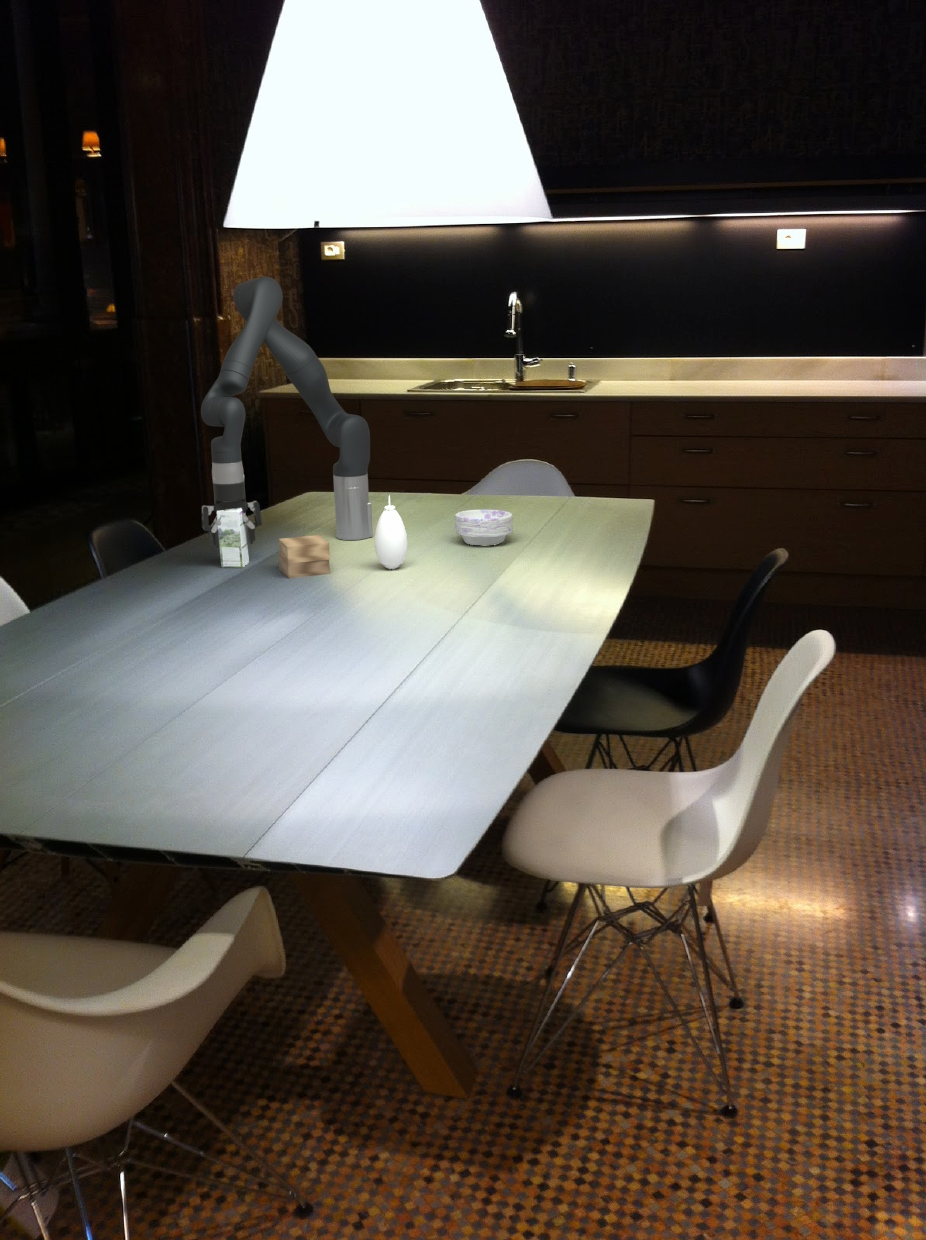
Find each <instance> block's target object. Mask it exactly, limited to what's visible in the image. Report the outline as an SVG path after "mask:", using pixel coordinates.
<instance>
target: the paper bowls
mask: <svg viewBox="0 0 926 1240" xmlns="http://www.w3.org/2000/svg"><path fill="white" fill-rule="evenodd" d="M513 519H514V518H513V513H512V512H509V511H507V510H499V509H468V510H467V509H466V510H462V511H459V512H456V513H455V515H454V532H455V533H456V534H457V535H461V537H462V540H463V541H464V542H465V544H467V545H469V544H470V546H473V545H494V544H498V543H501V542H502V543H504V541H505V540H506V537H507V536H508V535H511V534H512V533H513V532H514V529H513ZM502 543H501V544H502ZM494 546H495V545H494Z"/></svg>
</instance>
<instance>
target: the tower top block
mask: <svg viewBox="0 0 926 1240" xmlns="http://www.w3.org/2000/svg"><path fill="white" fill-rule="evenodd" d="M278 544H279V545H278V546H279V555H281V556H282V558H283V559H284V560H285V561H286V562H287V563H288V564H290V563H299V562H309V561H319V560H329V561H330V560H331V557H330V543H329V541H327V540H326V539H325V538H324V537H323V536H321V535H320V534H317V535H316V534H315V535H305V536H296V537H295V536H294V537H285V538H278Z"/></svg>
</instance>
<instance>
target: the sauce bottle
mask: <svg viewBox="0 0 926 1240" xmlns="http://www.w3.org/2000/svg"><path fill="white" fill-rule="evenodd" d="M391 504H392V503H391V496H390V495H388V505H385V506H384V508H383V512H381V514H380V516H379V518H378V521H377V524H376V527H375V533H374V534H375V535H374V549H375V550H374V551H375V554H376V557H377V559H378V561H379V562H380V564H381V565H382V566H384V567H385V568H386V569H388V570H391V569H392V570H396V569H397V568H399V567H400V565H402V564H403V562H405V559H406V556H407V552H408V535H407V530H406V527H405V525H404V522H403V519H402V517H401V515H400V514H399V512H398V511H397V510H396V506H395V505H393V504H392V505H391Z"/></svg>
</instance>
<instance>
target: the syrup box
mask: <svg viewBox="0 0 926 1240" xmlns="http://www.w3.org/2000/svg"><path fill="white" fill-rule="evenodd" d="M241 511H242V508H239V509H229V510H228V511H224V510H220V511H217V514H216V516H217V520H218V519H219V518H220V517H221V520H220V521H221V525H218V529H217V531H218V532H217V534H218V546H219V556H220V566H221V568H236V569H239V568H240V569H241V568H244V567H246V566H247V565H248V564H249V563H250V560H249V558H250V557H249V547H248V530H247V524H246V523H245V522H244V521H243V519H242V512H241ZM245 565H246V566H245Z"/></svg>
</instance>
